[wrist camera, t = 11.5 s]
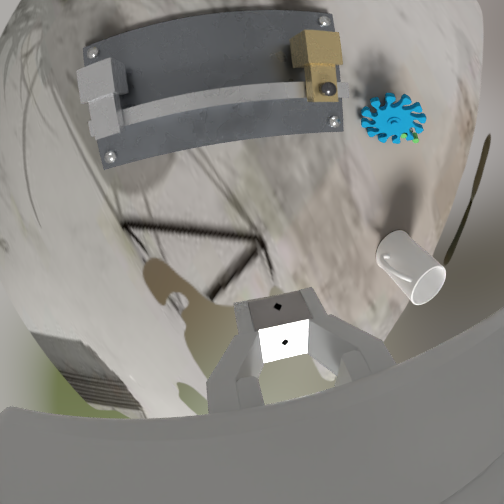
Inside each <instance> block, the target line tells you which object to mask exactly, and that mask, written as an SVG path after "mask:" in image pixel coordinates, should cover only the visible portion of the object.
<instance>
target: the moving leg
mask: <svg viewBox="0 0 504 504" xmlns="http://www.w3.org/2000/svg"><path fill="white" fill-rule="evenodd" d="M289 41H290V49H291V57H292V65H293V68H304V71H305V81H306V91H307V102H338V90H337V78H336V67H335V66H337V65H342V64H343V61H342V52H341V44H340V36H339V32H330V31H319V30H303V31H301V32H300V33H298V34H297V35H295V36H294V37H292V38H291V39H289Z"/></svg>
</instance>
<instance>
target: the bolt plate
mask: <svg viewBox="0 0 504 504" xmlns="http://www.w3.org/2000/svg"><path fill="white" fill-rule="evenodd" d="M303 30H319V31H330V32H335V29H334V23H333V16H332V14H328V13H319V12H308V11H290V10H252V11H235V12H223V13H214V14H206V15H199V16H192V17H186V18H181V19H176V20H171V21H166V22H162V23H158V24H153V25H149V26H146V27H142V28H138V29H135V30H131V31H128V32H125V33H122V34H119V35H116V36H113V37H110V38H107V39H104V40H102V41H99V42H96V43H94V44H91V45H89V46H86V47H84V48H83V54H84V65H85V67H86V66H88V65H91V64H93V63H96V62H99V61H101V60H104V59H107V58H110V57H111V58H113V59H116V60H118V61H120V62H122V63H125V70H126V78H127V85H128V91H129V93H127V94H123V95H120V96H119V99H120V105H121V110H123V109H126V108H130V107H133V106H137V105H140V104H144V103H148V102H152V101H156V100H160V99H164V98H169V97H173V96H178V95H183V94H188V93H193V92H199V91H205V90H211V89H218V88H225V87H233V86H241V85H251V84H263V83H280V82H306V81H305V71H304V68H293V65H292V57H291V49H290V41H289V39H291V38H292V37H294V36H295V35H297V34H298V33H300V32H301V31H303ZM335 67H336V78H337V82H340V71H339V65H337V66H335ZM124 127H125V131H122V132H120V133H116V134H113V135H110V136H107V137H104V138H101V139H98V140H97V143H98V147H99V152H100V156H101V160H102V164H103V168H104V170H105V169H109V168H112V167H116V166H119V165H123V164H126V163H130V162H134V161H138V160H142V159H146V158H150V157H154V156H158V155H162V154H167V153H171V152H176V151H181V150H186V149H191V148H196V147H201V146H207V145H213V144H218V143H225V142H231V141H238V140H245V139H253V138H261V137H270V136H279V135H290V134H303V133H318V132H342V131H343V110H342V98H338V102H307V98H287V99H271V100H260V101H250V102H241V103H233V104H225V105H219V106H212V107H206V108H200V109H195V110H189V111H184V112H179V113H175V114H170V115H166V116H161V117H157V118H153V119H149V120H145V121H141V122H138V123H134V124H130V125H127V126H124Z"/></svg>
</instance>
